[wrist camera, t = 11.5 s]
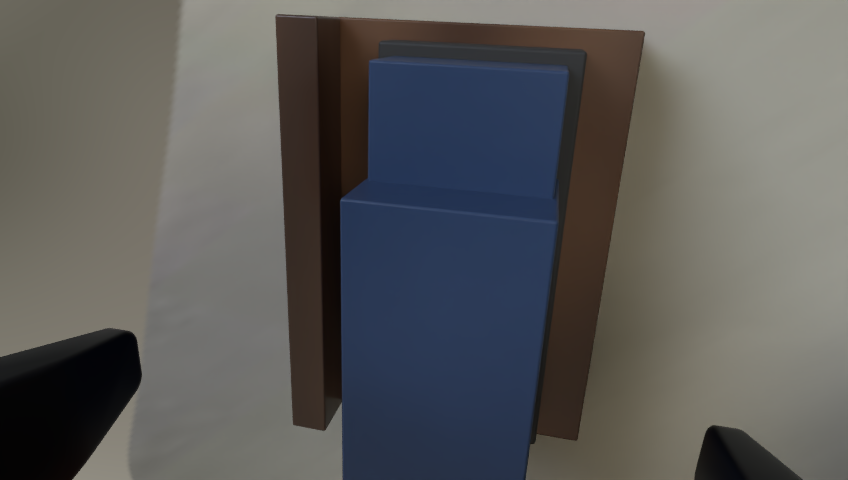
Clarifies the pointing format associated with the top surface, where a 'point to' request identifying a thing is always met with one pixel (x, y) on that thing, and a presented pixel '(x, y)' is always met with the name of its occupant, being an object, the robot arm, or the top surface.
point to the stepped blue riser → (454, 258)
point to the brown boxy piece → (348, 167)
